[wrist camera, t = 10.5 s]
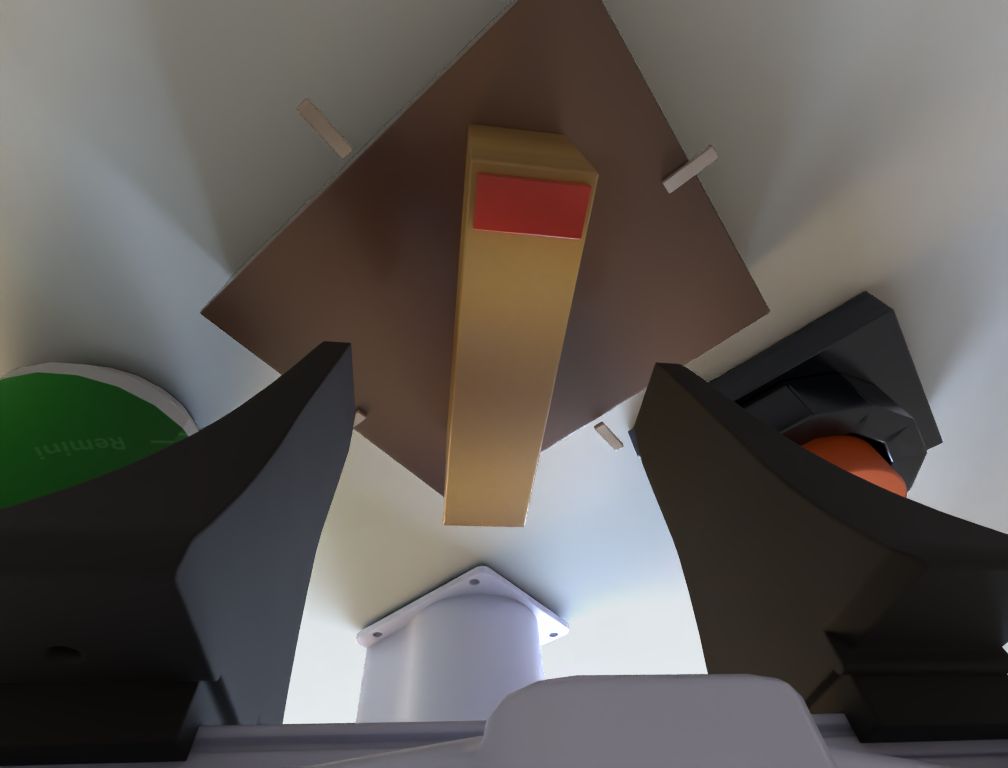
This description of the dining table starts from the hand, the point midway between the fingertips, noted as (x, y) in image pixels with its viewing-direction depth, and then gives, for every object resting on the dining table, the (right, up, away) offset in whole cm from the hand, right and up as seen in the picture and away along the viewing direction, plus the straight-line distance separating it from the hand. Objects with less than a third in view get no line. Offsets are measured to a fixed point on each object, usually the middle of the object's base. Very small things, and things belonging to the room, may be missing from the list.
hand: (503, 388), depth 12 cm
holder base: (0, +4, +5) cm, 6 cm away
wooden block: (0, +2, +3) cm, 4 cm away
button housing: (+12, -2, +10) cm, 15 cm away
